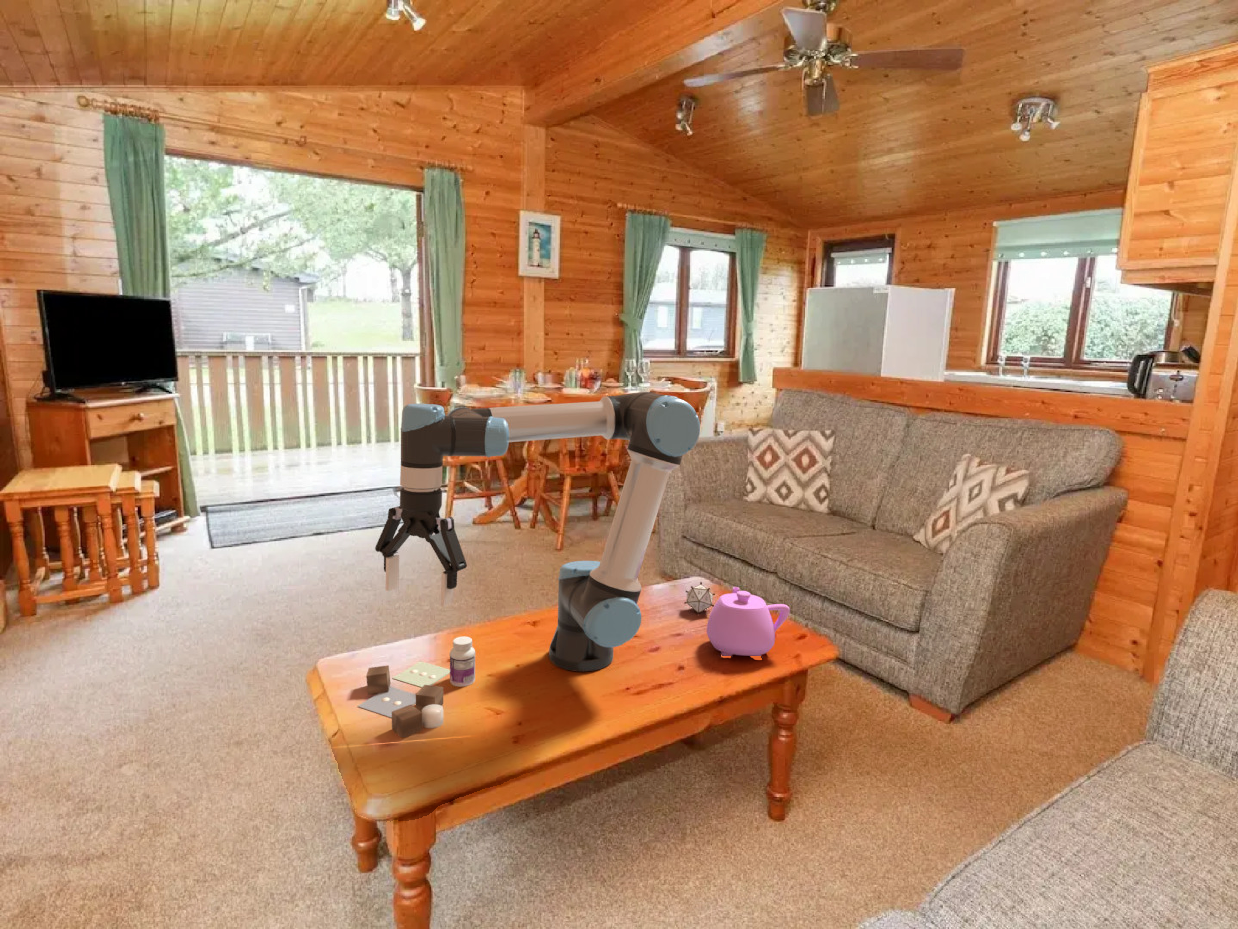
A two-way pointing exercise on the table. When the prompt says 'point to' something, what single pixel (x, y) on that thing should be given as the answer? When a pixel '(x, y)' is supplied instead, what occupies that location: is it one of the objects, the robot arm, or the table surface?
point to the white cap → (432, 716)
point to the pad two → (389, 701)
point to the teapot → (743, 624)
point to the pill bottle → (462, 662)
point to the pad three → (422, 674)
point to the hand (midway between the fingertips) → (419, 596)
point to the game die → (699, 598)
